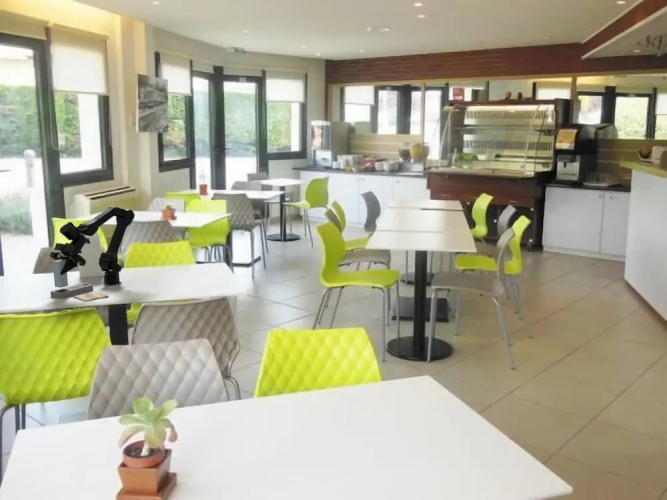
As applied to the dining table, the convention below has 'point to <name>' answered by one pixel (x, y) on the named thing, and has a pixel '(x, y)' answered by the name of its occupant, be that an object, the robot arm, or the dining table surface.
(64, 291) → the gray slotted board
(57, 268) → the plug
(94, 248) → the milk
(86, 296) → the cork mat
